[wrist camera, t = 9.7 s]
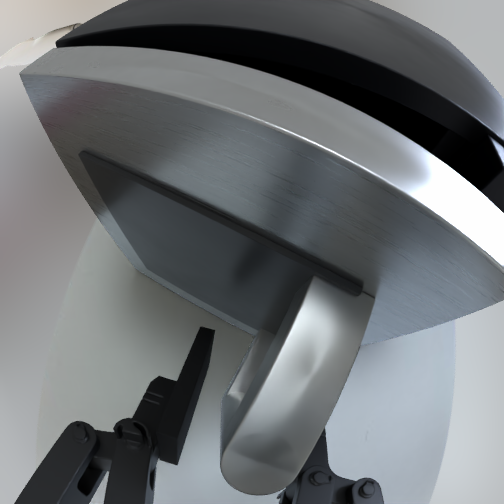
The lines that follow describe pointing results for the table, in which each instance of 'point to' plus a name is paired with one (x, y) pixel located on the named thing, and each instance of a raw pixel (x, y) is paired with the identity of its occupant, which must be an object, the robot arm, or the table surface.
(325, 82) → the microwave
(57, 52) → the microwave door
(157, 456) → the robot arm
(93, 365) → the table surface
